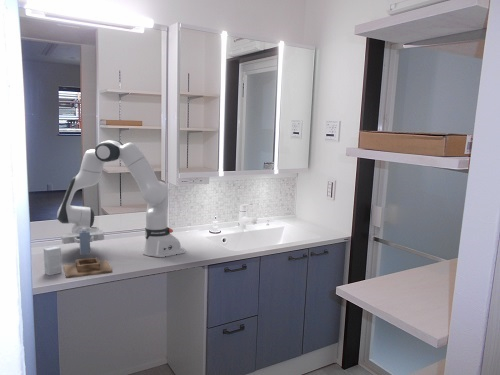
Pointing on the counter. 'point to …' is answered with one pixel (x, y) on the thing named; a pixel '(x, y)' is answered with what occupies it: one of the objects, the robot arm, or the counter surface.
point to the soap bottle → (84, 241)
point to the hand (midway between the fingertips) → (84, 240)
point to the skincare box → (52, 260)
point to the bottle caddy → (87, 267)
